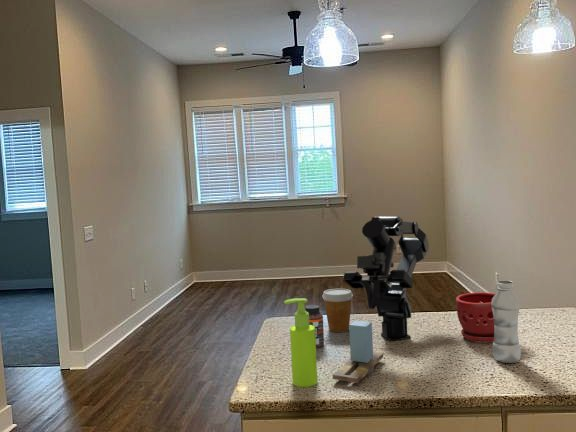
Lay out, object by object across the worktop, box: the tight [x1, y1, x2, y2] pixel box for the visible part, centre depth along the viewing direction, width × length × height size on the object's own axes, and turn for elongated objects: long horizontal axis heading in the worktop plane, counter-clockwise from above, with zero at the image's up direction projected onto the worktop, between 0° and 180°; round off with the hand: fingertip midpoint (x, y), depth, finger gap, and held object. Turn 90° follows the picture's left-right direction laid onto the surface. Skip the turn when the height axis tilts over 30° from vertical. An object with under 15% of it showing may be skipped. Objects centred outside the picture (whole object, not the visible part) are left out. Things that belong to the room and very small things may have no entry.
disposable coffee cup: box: [321, 288, 354, 333], centre depth 163 cm, size 10×10×12 cm
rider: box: [348, 320, 374, 366], centre depth 129 cm, size 4×4×10 cm
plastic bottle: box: [491, 280, 522, 364], centre depth 129 cm, size 6×7×20 cm
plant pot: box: [455, 292, 496, 344], centre depth 147 cm, size 13×13×12 cm
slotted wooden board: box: [332, 351, 384, 384], centre depth 128 cm, size 18×6×2 cm, turn 151°
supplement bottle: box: [305, 304, 325, 349], centre depth 149 cm, size 6×6×11 cm
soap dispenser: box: [283, 297, 318, 388], centre depth 122 cm, size 6×7×20 cm
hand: (370, 308), depth 137 cm, fingers closed
